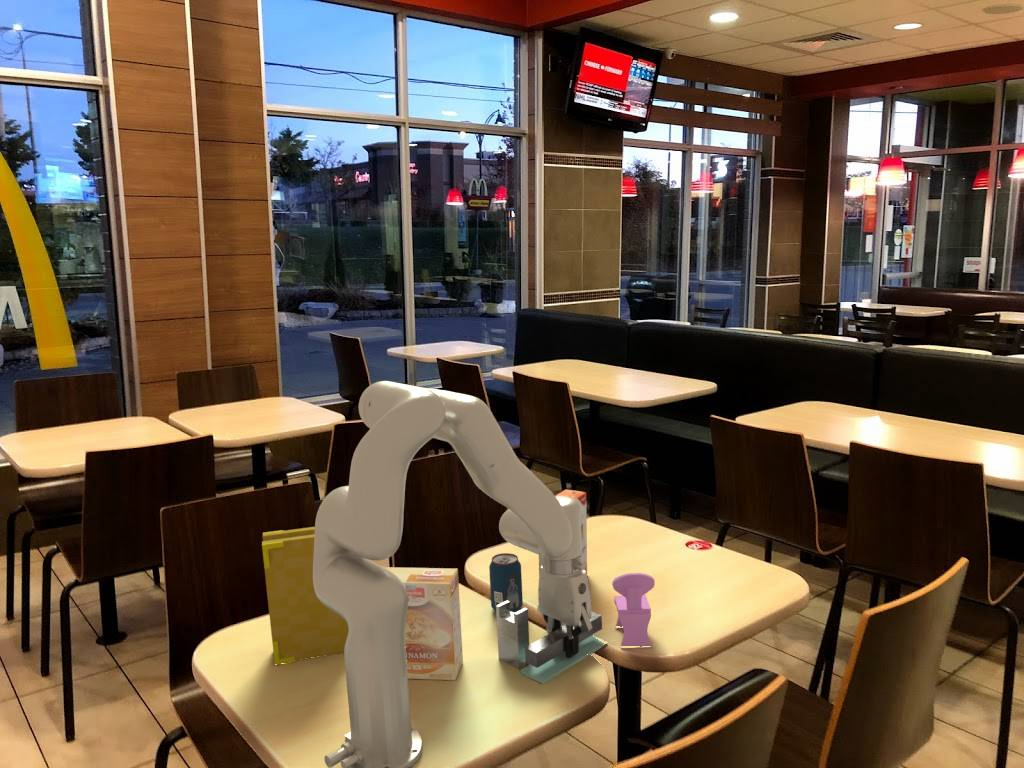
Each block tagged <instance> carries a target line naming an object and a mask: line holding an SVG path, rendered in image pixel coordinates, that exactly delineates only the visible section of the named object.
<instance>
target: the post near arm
mask: <svg viewBox="0 0 1024 768" xmlns="http://www.w3.org/2000/svg"><path fill="white" fill-rule="evenodd" d="M495 614H496V633H497V636H496V637H497V650H498V651H497V652H498V653H497V654H498V659H499V660H501V661H504V662H505V663H508V664H509V665H511V666H513V667H515V668H517V669H520V668H522V667H524V666H526V665H527V664H528V663H526V662H525V647H527V646H528V645H530V624H529V609H528V608H527V607H523V608H521V609H520V610H519V611H517V612H515V613H514V612H511V611H510V601H508V600H507V601H505V602H503V603H501V604H499V605H497V606H496V613H495ZM528 665H529V664H528Z"/></svg>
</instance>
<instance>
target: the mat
mask: <svg viewBox="0 0 1024 768" xmlns="http://www.w3.org/2000/svg"><path fill="white" fill-rule="evenodd" d="M593 635H594V634H593ZM593 635H592V636H590V637H588V638H587V639H585V640H583V641H582V642H580V643H579V652H578V653H577V654H575V655H574V656H572V657H570V658H567V657H566V653H565V652H563V653H562V654H560V655H558V656H556V657H555V658H553V659H551V660H550V661H548V662H546V663H545V664H543V665H541V666H540V667H538V668H536V667H534V666H532V665H530V664H528V666H526V667H524V668H522V669H520V674H521V675H524V676H525V677H527V678H530V679H532V680H533V681H535V682H537V683H540V684H542V685H544V684H545V683H547V682H549V681H550V680H552V679H553V678H555V677H557V676H558V675H560V674H561V673H563V672H564V671H566V670H567V669H569V668H571V667H573V666H574V665H576V664H577V663H579V662H581V661H582V660H584V659H585V658H587V657H590V655H592V654H593V653H595V652H597V651H598V650H600V649H602V648H603V647H604V646H603V644H604V643H602V642H601V641H599V640H598V639H596V638H595V637H593ZM602 646H603V647H602ZM587 654H588V655H587Z"/></svg>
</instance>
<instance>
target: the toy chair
mask: <svg viewBox="0 0 1024 768" xmlns="http://www.w3.org/2000/svg"><path fill="white" fill-rule="evenodd" d="M655 583H656V582H655V578H654V577H653V576H651V575H649V574H646V573H643V572H632V573H631V572H629V573H625V574H624V573H623V574H620V575H618V576H617V577H614V579H613V580H612V583H611V585H612V588H613V590H614V591H615V592H616V593H618V595H614V596H613V597H614V600H613V601H614V604H615V606H616V610H617V615H618V617H617V620H616V624H615V627H616V626H620V627H622V626H623V629H622V630H623V638H622V641H621V643H620V646H640V647H642V646H652V647H653V645H652V643H651V640H650V638H649V633H648V628H649V624H650V620H651V617H652V612H651V611H652V609H651V608H652V607H651V605H650V604H649V601H648V598H647V595H646V594H647V593H648V592H650V591H652V590H653V589H654V588H655Z"/></svg>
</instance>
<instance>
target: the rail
mask: <svg viewBox="0 0 1024 768" xmlns="http://www.w3.org/2000/svg"><path fill="white" fill-rule="evenodd" d="M589 620H590V622H591V625H592V629H591V630H589V631H588V632H584V633H581V634H580V635H579V636H578V638H579V643H580V642H582V641H583V640H585V639H587V638H588V637H590V636H592V635H594V634H597V633H598V632H600V631H602V630H603V615H602V614H599V613H598V612H595V611H592V616H591V618H590V619H589ZM580 624H581V621H580ZM581 625H582V624H581ZM574 629H575V628H574V626H573V630H574ZM566 638H567V628H566V625H564V626H562V627H560V628H559V629H557V630H555V631H553V632H551V633H550V632H549V633H548V634H546V635H544V636H543V637H540V638H539V639H537V640H535V641H534V642H532V643H529V645H528V646H527V647H525V662H526V663H528V665H532V666H534V667H536V668H538V667H540V666H541V665H543V664H545V663H546V662H548V661H550V660H551V659H553V658H555V657H556V656H558V655H560V654H562V653H563V652H565V651H566V644H565V639H566Z"/></svg>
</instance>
